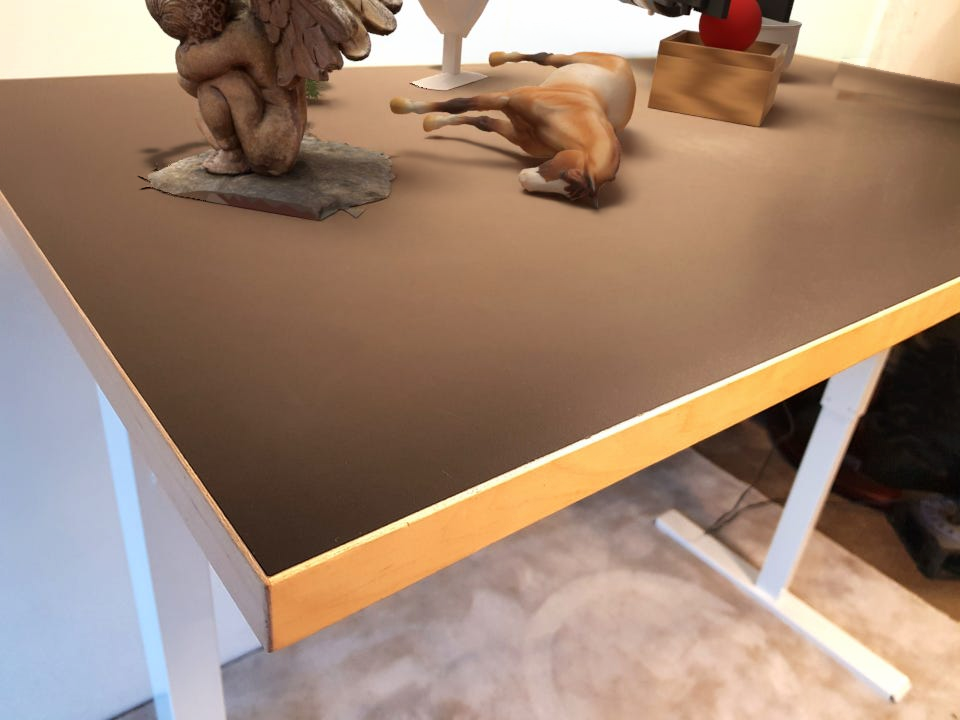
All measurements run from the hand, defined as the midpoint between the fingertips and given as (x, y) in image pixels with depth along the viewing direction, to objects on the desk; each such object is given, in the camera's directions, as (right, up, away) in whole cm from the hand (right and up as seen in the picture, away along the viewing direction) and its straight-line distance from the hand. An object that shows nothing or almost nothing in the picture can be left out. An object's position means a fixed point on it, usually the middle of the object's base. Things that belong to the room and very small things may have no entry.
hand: (758, 7), depth 87 cm
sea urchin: (-49, -12, -5) cm, 51 cm away
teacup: (+11, +5, +34) cm, 36 cm away
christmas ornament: (-2, -3, +7) cm, 8 cm away
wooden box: (-2, -8, +10) cm, 13 cm away
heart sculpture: (-34, -4, +11) cm, 36 cm away
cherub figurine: (-46, -24, -25) cm, 57 cm away
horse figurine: (-34, -15, -8) cm, 38 cm away
